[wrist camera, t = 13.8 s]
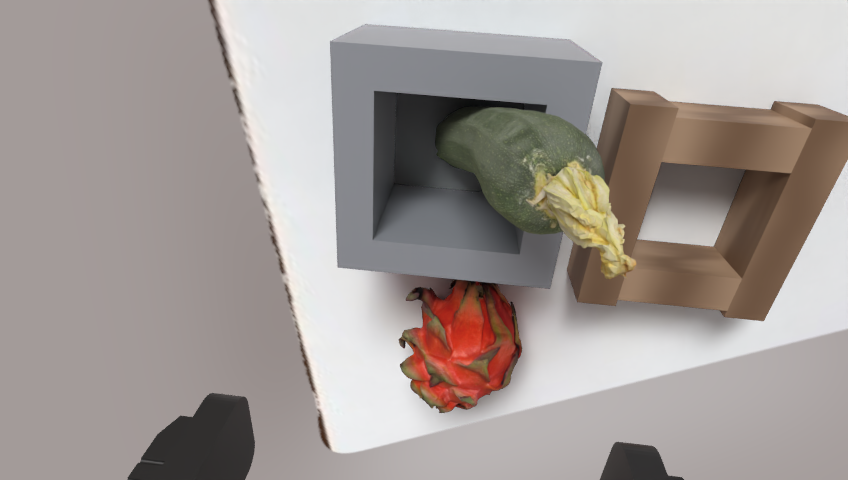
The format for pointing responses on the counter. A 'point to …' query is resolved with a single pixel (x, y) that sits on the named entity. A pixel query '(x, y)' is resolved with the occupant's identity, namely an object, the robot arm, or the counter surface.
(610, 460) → the robot arm
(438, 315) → the dragon fruit
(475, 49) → the holder
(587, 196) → the vegetable
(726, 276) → the board
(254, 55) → the counter surface
